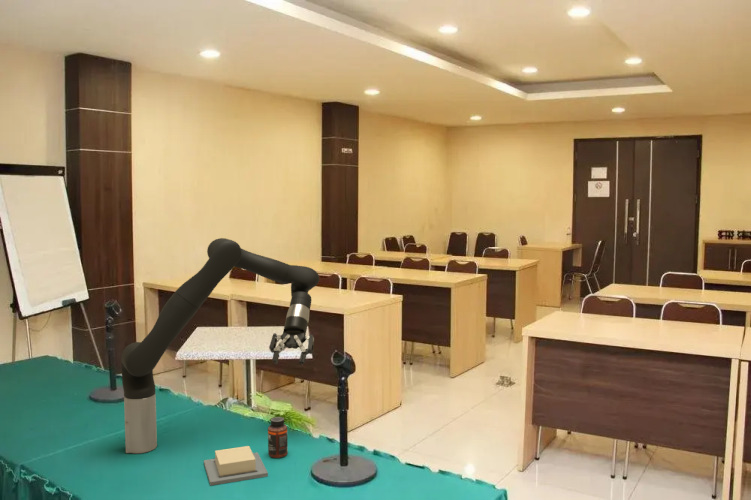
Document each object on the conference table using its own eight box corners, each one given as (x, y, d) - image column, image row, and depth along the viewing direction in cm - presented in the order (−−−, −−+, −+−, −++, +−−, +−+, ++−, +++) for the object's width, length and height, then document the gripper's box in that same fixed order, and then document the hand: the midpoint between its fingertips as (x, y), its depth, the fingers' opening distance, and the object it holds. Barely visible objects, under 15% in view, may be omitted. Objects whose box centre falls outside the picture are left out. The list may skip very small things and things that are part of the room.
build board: (210, 485, 175) (209, 470, 174) (203, 463, 188) (203, 448, 188) (267, 476, 180) (267, 461, 180) (257, 455, 194) (257, 441, 194)
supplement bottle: (291, 452, 197) (290, 416, 196) (282, 459, 191) (281, 423, 190) (273, 449, 199) (273, 414, 198) (264, 457, 193) (264, 421, 192)
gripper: (274, 314, 212) (263, 357, 202) (315, 315, 210) (307, 358, 200) (279, 326, 218) (269, 368, 208) (319, 327, 215) (311, 370, 206)
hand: (288, 363), depth 204 cm, fingers open, 8 cm apart
